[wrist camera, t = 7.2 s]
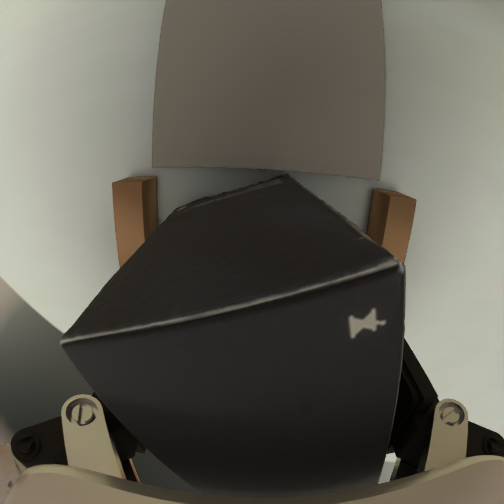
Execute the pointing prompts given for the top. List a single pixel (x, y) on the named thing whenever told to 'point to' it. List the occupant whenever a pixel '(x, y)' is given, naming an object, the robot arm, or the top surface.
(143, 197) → the brown open frame
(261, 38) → the rubber mat
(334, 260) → the small box
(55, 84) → the top surface
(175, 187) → the top surface
